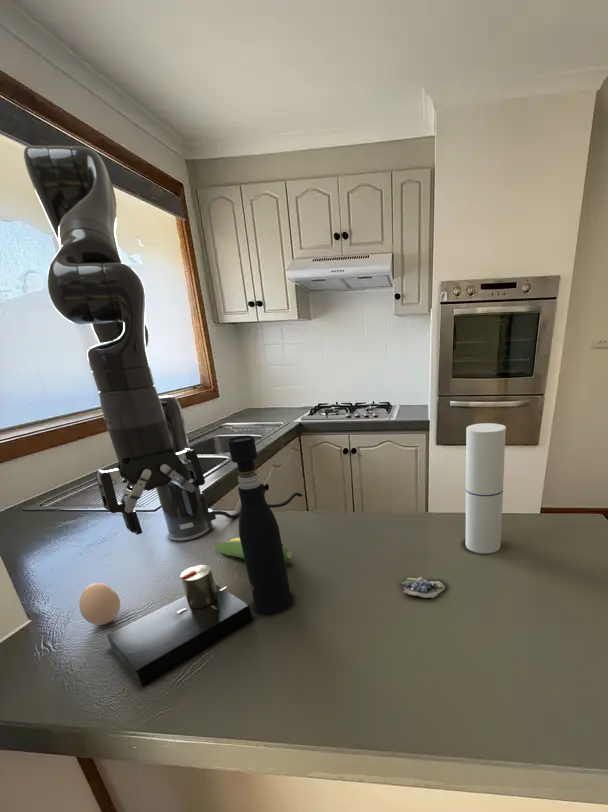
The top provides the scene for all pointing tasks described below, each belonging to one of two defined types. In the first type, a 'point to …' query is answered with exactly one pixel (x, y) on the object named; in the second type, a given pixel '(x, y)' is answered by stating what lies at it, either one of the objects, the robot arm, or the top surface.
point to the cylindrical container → (484, 486)
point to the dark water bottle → (259, 533)
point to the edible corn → (236, 550)
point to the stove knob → (199, 586)
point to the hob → (176, 634)
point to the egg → (99, 604)
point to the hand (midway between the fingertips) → (166, 522)
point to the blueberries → (422, 587)
